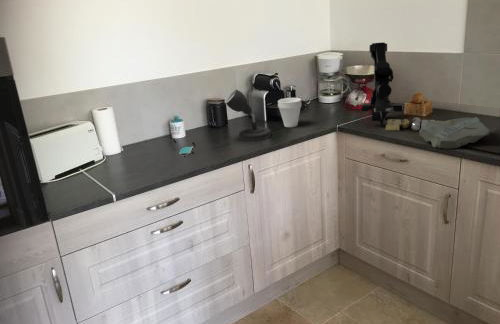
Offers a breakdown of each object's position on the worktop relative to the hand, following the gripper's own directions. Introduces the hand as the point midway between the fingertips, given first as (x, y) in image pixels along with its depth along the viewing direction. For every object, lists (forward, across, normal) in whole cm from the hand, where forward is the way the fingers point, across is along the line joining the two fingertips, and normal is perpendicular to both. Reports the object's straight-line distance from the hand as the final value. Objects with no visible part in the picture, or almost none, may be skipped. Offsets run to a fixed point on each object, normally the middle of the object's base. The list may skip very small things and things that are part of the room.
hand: (381, 124), depth 209 cm
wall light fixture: (+2, -60, -24) cm, 65 cm away
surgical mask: (+2, -82, -48) cm, 95 cm away
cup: (+1, -46, 0) cm, 46 cm away
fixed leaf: (+1, +19, 0) cm, 19 cm away
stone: (+2, +32, -20) cm, 37 cm away
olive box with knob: (+1, +7, 0) cm, 8 cm away
